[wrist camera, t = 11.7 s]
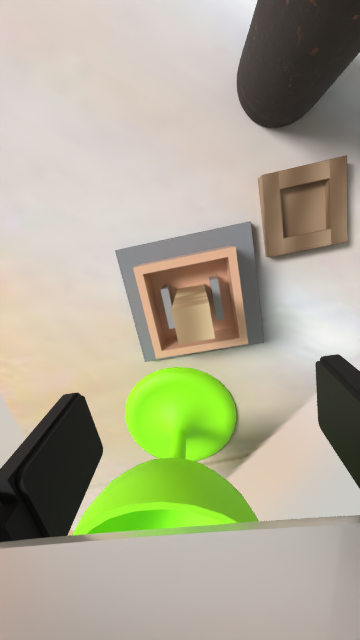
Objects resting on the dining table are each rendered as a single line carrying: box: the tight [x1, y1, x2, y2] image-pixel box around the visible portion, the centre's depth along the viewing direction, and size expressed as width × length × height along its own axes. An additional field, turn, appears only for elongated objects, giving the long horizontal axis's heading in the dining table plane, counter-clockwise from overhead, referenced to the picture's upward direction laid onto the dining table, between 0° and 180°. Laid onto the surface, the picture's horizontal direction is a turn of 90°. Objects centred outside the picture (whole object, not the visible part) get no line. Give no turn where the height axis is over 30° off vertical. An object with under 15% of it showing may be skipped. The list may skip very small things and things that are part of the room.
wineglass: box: [72, 367, 259, 535], centre depth 27 cm, size 16×16×18 cm
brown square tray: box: [258, 155, 347, 257], centre depth 26 cm, size 8×8×2 cm
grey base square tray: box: [115, 221, 264, 362], centre depth 28 cm, size 15×14×5 cm
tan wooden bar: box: [171, 284, 215, 344], centre depth 24 cm, size 3×3×9 cm
